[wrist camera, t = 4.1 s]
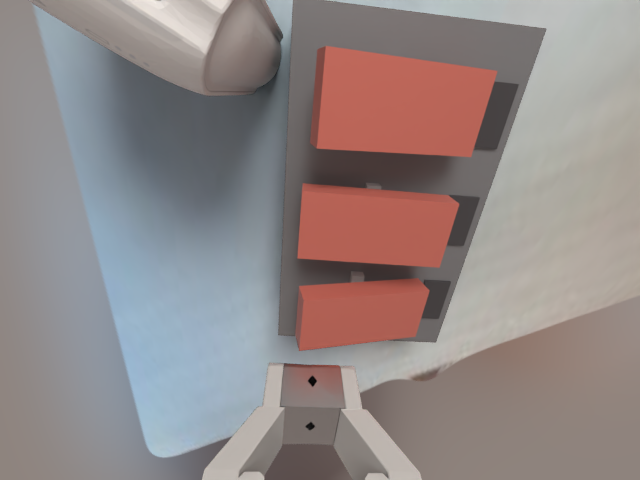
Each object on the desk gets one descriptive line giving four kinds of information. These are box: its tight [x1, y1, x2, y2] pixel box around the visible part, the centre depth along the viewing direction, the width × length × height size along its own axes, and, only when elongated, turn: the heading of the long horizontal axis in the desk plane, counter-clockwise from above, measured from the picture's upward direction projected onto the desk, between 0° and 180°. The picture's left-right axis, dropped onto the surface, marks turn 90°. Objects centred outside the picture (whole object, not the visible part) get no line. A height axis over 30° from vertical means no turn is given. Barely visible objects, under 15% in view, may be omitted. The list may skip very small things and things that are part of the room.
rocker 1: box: [310, 46, 498, 157], centre depth 14 cm, size 8×4×1 cm, turn 85°
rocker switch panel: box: [278, 0, 546, 342], centre depth 20 cm, size 12×20×5 cm, turn 175°
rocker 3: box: [295, 278, 429, 351], centre depth 19 cm, size 8×4×1 cm, turn 85°
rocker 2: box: [297, 183, 459, 268], centre depth 17 cm, size 8×4×1 cm, turn 85°
